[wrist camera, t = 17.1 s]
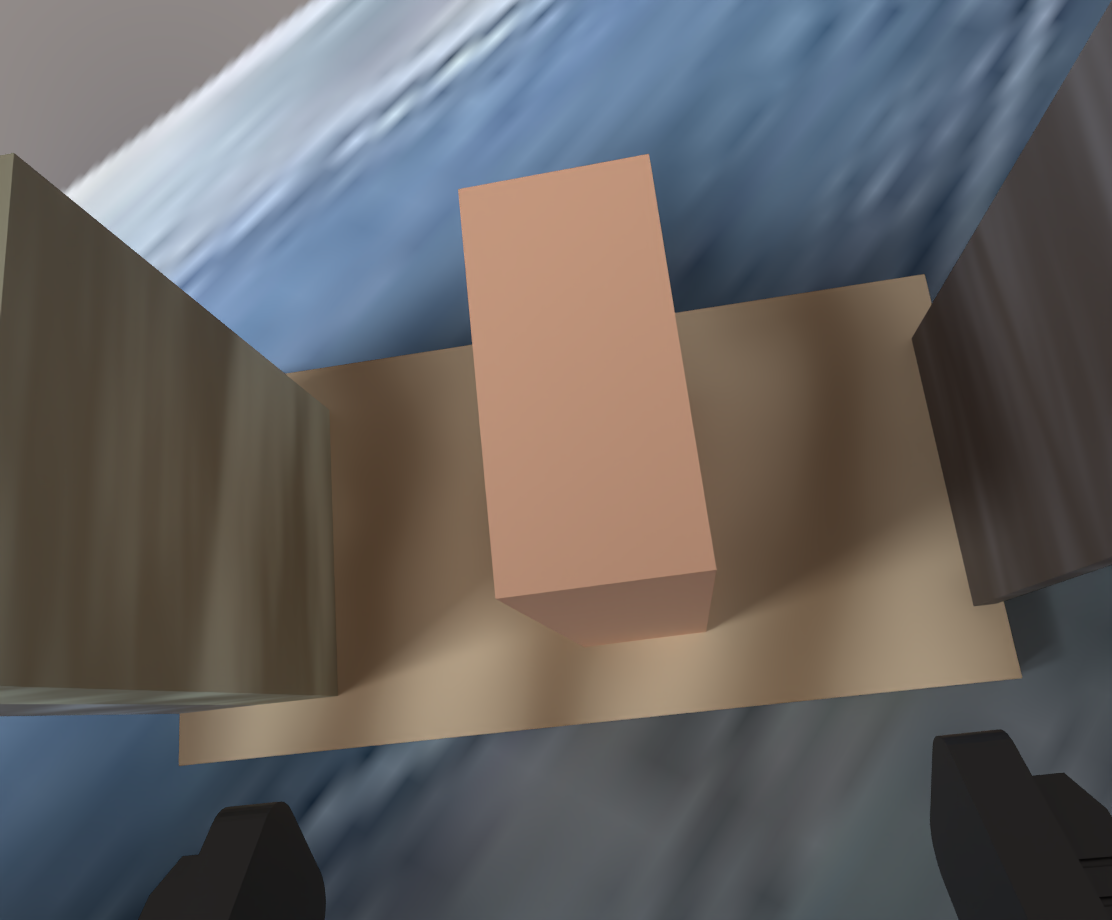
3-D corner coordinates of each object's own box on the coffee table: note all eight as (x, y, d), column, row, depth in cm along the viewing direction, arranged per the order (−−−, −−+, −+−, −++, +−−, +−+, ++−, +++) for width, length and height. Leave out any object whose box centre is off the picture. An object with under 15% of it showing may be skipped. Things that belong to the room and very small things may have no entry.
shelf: (205, 762, 28) (-432, 835, 12) (208, 403, 31) (-285, 95, 15) (1003, 680, 25) (1528, 634, 9) (913, 295, 28) (1185, -214, 13)
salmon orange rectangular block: (584, 646, 26) (495, 598, 14) (555, 403, 28) (457, 188, 16) (705, 631, 25) (716, 569, 14) (667, 385, 27) (649, 153, 16)
